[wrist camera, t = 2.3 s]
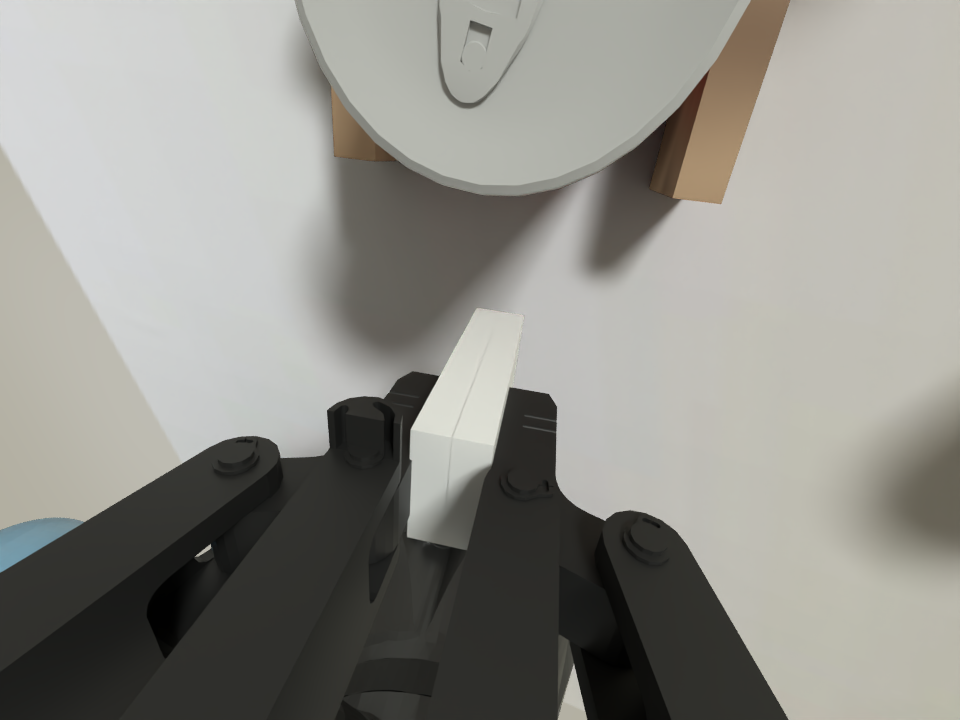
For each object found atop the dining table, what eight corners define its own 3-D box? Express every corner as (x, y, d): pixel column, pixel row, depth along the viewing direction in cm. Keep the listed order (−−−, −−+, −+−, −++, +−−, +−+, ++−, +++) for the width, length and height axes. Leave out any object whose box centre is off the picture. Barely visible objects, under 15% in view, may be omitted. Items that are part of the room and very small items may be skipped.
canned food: (441, 170, 18) (305, 188, 8) (441, -83, 15) (211, -549, 5) (625, 180, 17) (710, 214, 8) (673, -88, 14) (953, -682, 4)
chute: (687, 193, 17) (745, 211, 12) (377, 155, 18) (303, 157, 13) (781, -119, 13) (936, -308, 8) (376, -138, 14) (268, -311, 9)
